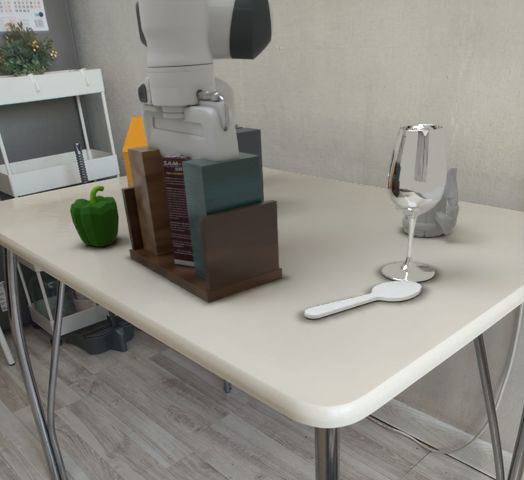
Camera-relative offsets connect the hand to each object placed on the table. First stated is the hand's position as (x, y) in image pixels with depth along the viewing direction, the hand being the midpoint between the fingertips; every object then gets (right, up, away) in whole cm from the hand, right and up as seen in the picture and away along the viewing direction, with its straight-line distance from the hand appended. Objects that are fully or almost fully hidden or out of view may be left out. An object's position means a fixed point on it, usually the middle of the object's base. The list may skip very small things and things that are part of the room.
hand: (194, 192), depth 79 cm
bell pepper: (-20, -4, +19) cm, 28 cm away
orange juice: (-10, +1, +28) cm, 29 cm away
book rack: (0, -10, +6) cm, 12 cm away
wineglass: (+32, -12, -1) cm, 34 cm away
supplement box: (+1, -9, +5) cm, 10 cm away
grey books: (+4, +7, +35) cm, 36 cm away
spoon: (+24, -17, -9) cm, 30 cm away
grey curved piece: (+40, -3, +14) cm, 42 cm away
